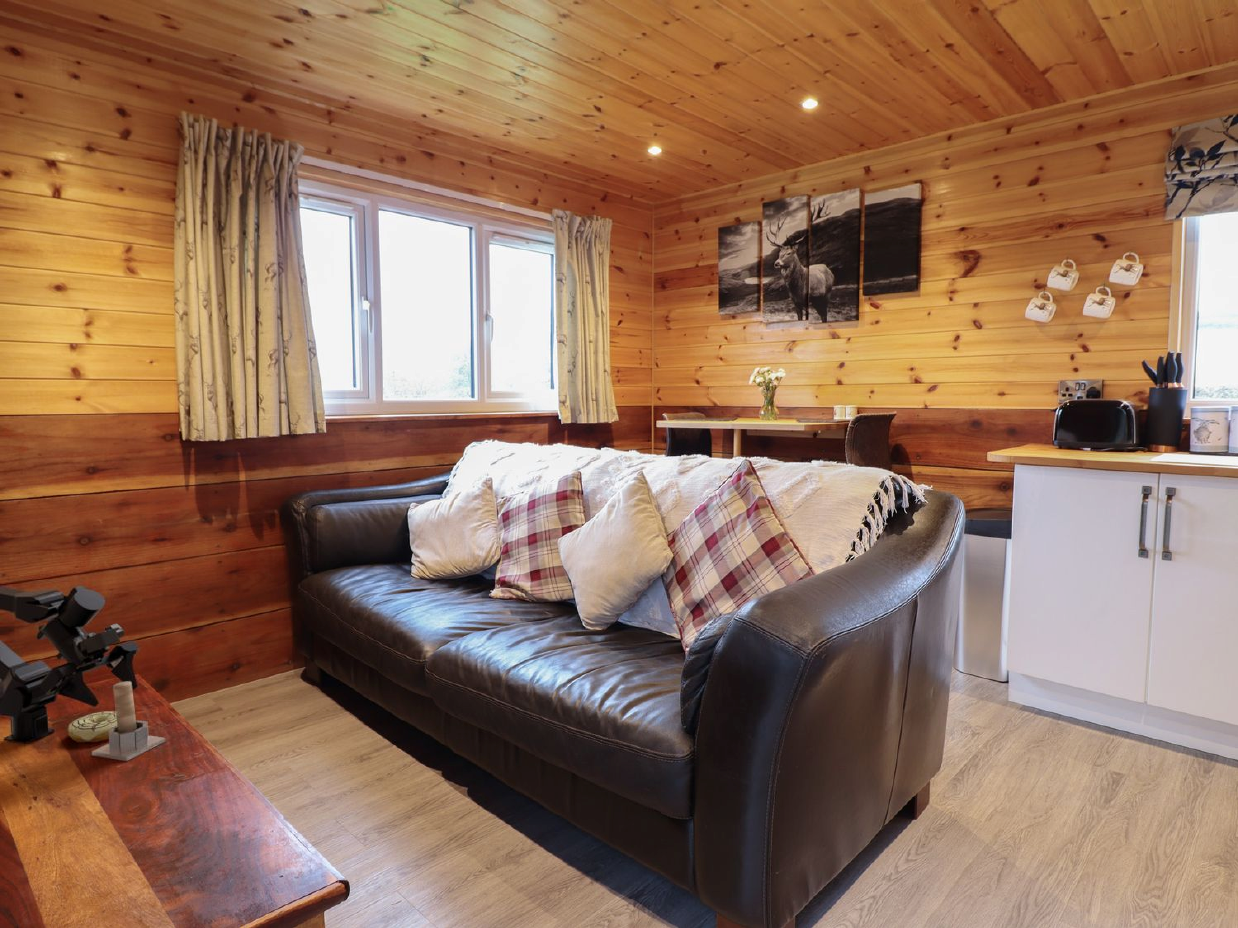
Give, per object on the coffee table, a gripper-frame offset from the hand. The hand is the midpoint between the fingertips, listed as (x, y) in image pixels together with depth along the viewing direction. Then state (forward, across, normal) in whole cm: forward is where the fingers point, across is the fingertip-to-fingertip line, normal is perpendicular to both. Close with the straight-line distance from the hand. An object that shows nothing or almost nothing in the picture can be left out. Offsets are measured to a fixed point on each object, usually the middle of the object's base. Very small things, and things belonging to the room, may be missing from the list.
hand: (117, 696), depth 152 cm
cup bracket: (+10, 0, +6) cm, 11 cm away
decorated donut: (+1, +4, +15) cm, 16 cm away
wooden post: (+9, 0, +5) cm, 10 cm away
